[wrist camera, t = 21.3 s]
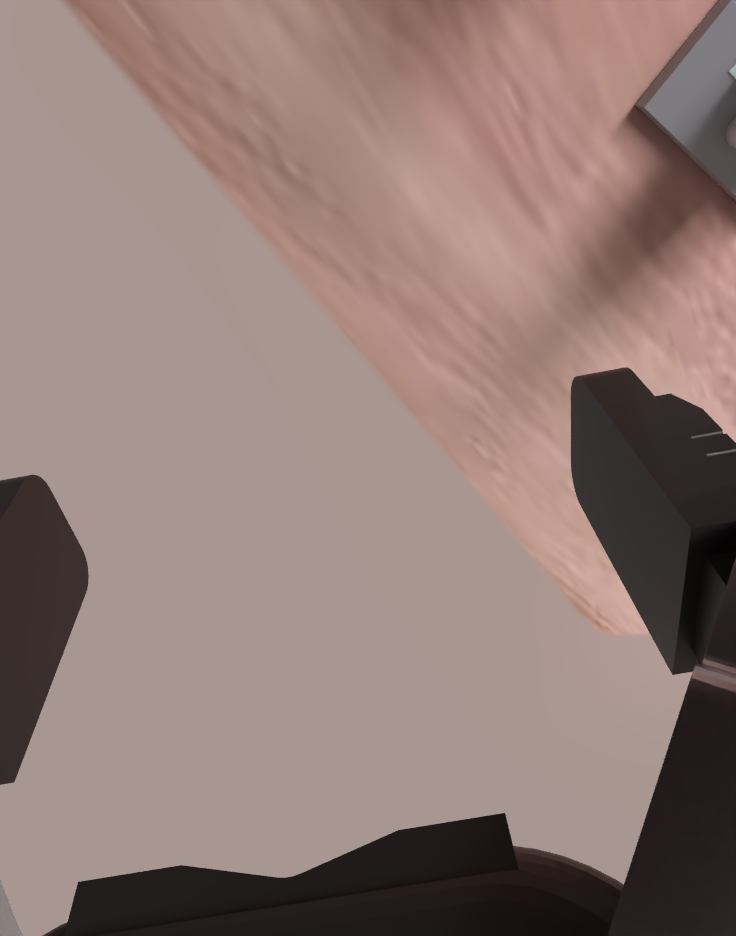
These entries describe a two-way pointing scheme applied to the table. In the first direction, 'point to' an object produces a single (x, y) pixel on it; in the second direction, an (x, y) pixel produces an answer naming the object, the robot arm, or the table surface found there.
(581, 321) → the table surface
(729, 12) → the pin tray
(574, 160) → the table surface
